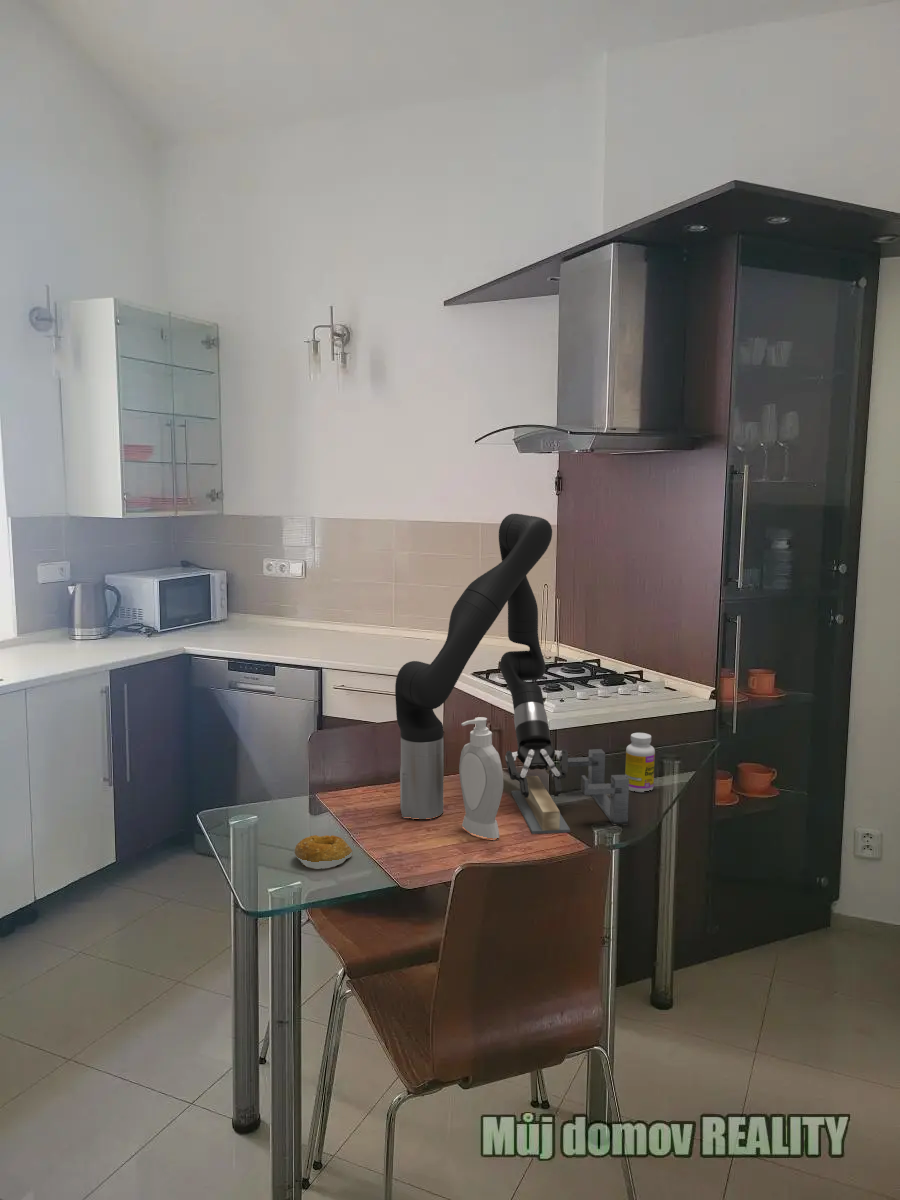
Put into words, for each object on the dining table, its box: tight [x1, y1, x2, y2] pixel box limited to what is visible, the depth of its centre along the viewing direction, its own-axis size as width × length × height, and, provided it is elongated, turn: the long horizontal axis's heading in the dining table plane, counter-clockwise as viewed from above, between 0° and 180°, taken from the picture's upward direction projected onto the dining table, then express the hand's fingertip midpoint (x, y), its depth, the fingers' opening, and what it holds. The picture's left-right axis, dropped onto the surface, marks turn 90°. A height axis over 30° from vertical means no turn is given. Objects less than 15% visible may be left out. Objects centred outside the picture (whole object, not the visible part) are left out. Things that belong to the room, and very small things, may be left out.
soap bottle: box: [458, 716, 504, 839], centre depth 186 cm, size 13×8×24 cm, turn 40°
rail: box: [525, 775, 561, 831], centre depth 199 cm, size 4×22×4 cm, turn 6°
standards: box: [560, 748, 630, 825], centre depth 202 cm, size 10×21×10 cm, turn 6°
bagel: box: [294, 834, 353, 862], centre depth 176 cm, size 10×11×5 cm
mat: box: [510, 790, 571, 835], centre depth 201 cm, size 8×24×1 cm, turn 6°
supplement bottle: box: [624, 732, 656, 793], centre depth 214 cm, size 7×7×13 cm
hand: (542, 795), depth 197 cm, fingers open, 6 cm apart
